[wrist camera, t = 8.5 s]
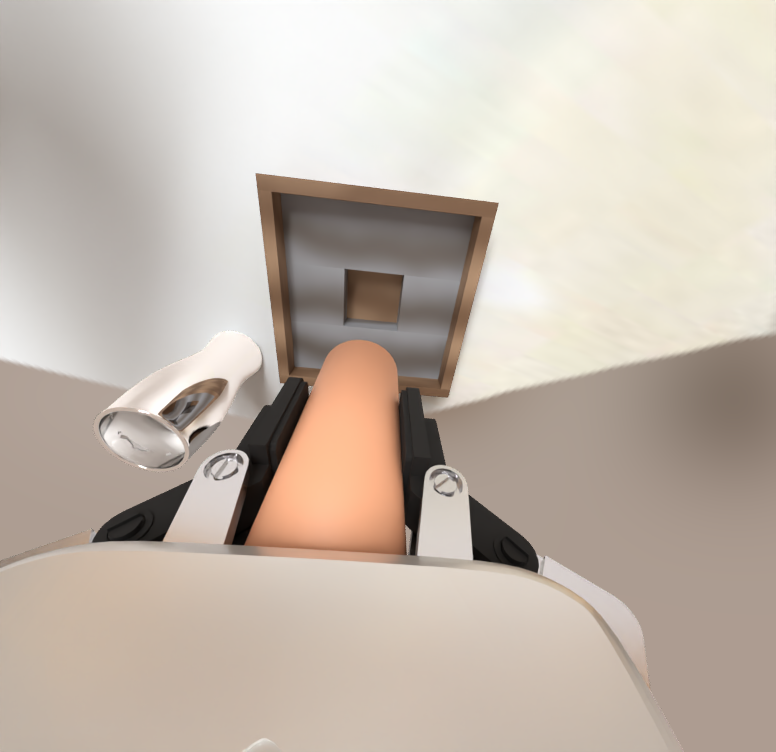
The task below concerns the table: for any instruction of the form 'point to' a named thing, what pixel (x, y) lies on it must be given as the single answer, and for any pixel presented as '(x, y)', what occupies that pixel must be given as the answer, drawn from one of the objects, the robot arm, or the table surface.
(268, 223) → the bore box
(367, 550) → the peg
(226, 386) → the beer glass
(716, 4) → the table surface
